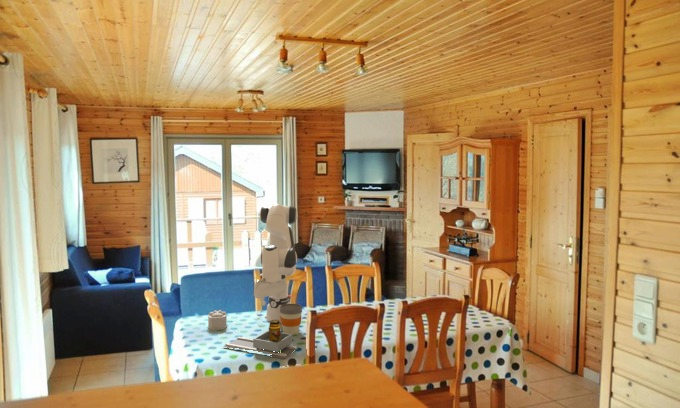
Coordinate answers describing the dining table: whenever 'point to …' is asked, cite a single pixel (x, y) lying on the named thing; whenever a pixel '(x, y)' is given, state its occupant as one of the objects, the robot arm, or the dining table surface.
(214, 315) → the lumpy-topped squat cylinder
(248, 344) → the rail track
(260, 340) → the tray
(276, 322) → the condiment
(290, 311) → the reusable coffee cup
